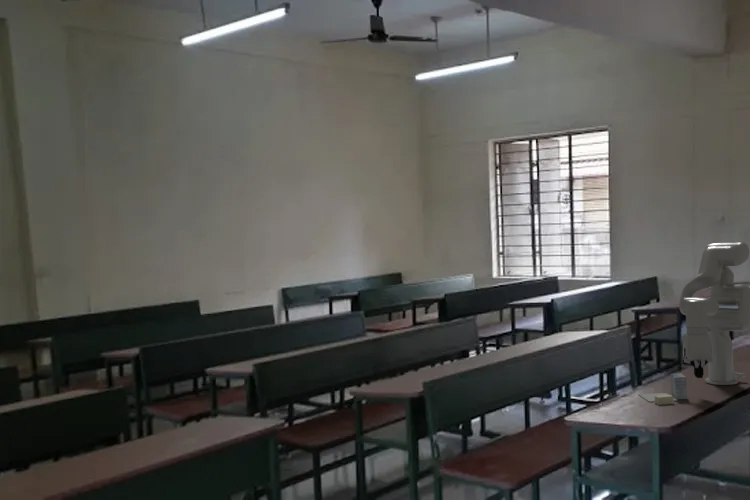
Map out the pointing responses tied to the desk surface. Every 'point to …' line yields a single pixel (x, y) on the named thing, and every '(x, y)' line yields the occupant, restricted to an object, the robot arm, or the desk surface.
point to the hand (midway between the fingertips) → (698, 377)
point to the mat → (652, 396)
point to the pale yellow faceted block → (664, 399)
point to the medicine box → (679, 386)
